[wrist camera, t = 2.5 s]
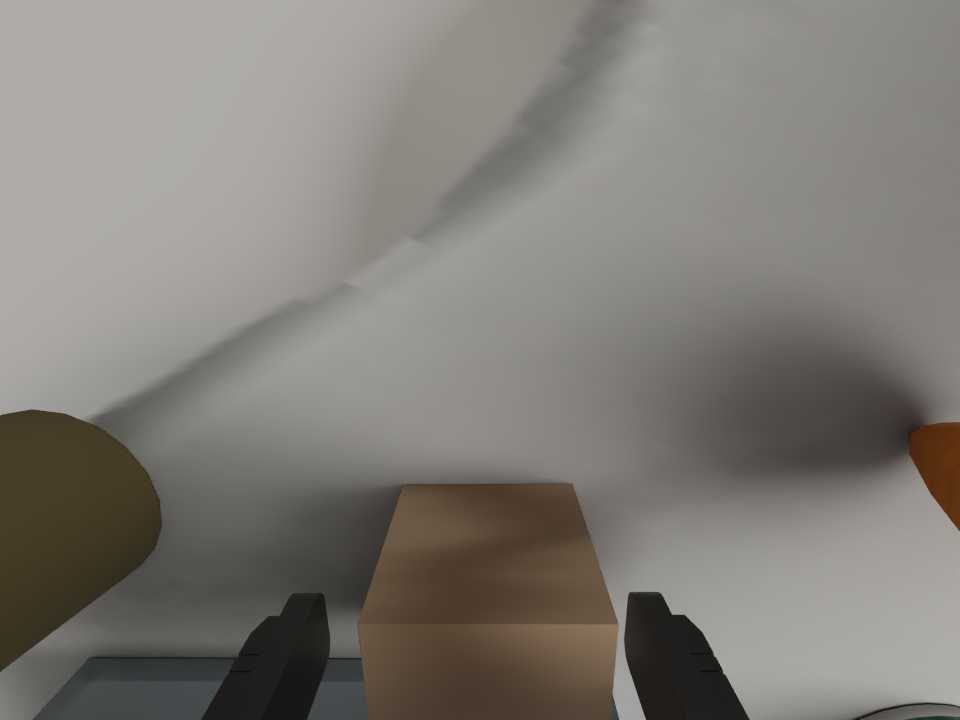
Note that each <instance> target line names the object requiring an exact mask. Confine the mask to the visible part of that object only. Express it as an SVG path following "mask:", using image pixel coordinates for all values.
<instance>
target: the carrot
mask: <svg viewBox="0 0 960 720" xmlns="http://www.w3.org/2000/svg"><path fill="white" fill-rule="evenodd" d="M909 454H910V456H911V458H912V460H913V462H914V464H915V465H916V467H917V469H918V471H919V473H920V475H921V477H922V478H923V480H924V482H925V484H926V486H927V488H928V490H929V491H930V493H931V495H932V496H933V497H934V499H935V500H936V501H937V502H938V504H939V505H940V506H941V508H942V509H943V510H944V512H945V513H946V514H947V515H948V517H949V518H950V519H951V521H952V522H953V523H954V525H955V526H956V527H957V528H958V530H959V531H960V422H954V423H938V424H932V425H925V426H923V427H921V428H919V429H917V430H915V431H914V432H913V433H912V434H911V440H910V451H909Z"/></svg>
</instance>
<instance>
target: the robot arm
mask: <svg viewBox="0 0 960 720" xmlns="http://www.w3.org/2000/svg"><path fill="white" fill-rule="evenodd" d="M624 644H625V653H626V659H627V663H628V667H629V670H630V673H631V676H632V679H633V682H634V685H635V688H636V691H637V694H638V697H639V700H640V703H641V706H642V709H643V712H644V715H645V718H646V720H750V719H749V718H748V716H747V714H746V712H745V710H744V708H743V707H742V705H741V703H740V701H739V699H738V697H737V696H736V694H735V692H734V690H733V688H732V686H731V684H730V683H729V681H728V679H727V677H726V675H724V674H723V670H722V668H721V666H720V664H719V662H718V660H717V659H716V657H714V654H713V651H712V649H711V648H710V646H709V644H708V642H707V640H706V638H705V636H704V635H703V633H702V632H701V631H700V630H699V629H698V628H697V627H696V626H695V625H694V624H693V623H692V622H691V621H690V620H689V619H688V618H687V617H686V616H685V615H672V614H671V612H670V610H669V608H668V606H667V604H666V602H665V600H664V598H663V596H662V594H661V593H659V592H630V593H629V596H628V604H627V615H626V625H625V636H624ZM329 651H330V634H329V627H328V620H327V612H326V605H325V598H324V595H323V594H322V593H294V594H292V595H291V596H290V598H289V599H288V601H287V603H286V605H285V607H284V609H283V611H282V612H281V614H280V616H268V617H267V618H266V619H265V620H264V621H263V622H262V623H261V624H260V625H259V626H258V627H257V628H256V629H255V630H254V631H253V632H252V633H251V634H250V635H249V637H248V639H247V641H246V642H245V644H244V646H243V648H242V649H241V651H240V653H239V657H238V658H236V660H235V661H234V663H233V665H232V667H231V668H230V670H229V674H228V676H226V677H225V679H224V681H223V682H222V684H221V686H220V688H219V689H218V691H217V693H216V695H215V696H214V698H213V700H212V701H211V703H210V705H209V707H208V708H207V710H206V712H205V714H204V715H203V717H202V719H201V720H307V719H308V716H309V713H310V710H311V707H312V705H313V702H314V699H315V696H316V694H317V691H318V688H319V685H320V682H321V680H322V677H323V674H324V671H325V668H326V665H327V662H328V657H329Z"/></svg>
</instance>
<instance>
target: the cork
mask: <svg viewBox="0 0 960 720" xmlns="http://www.w3.org/2000/svg"><path fill="white" fill-rule="evenodd" d="M160 529H161V515H160V503H159V498H158V496H157V494H156V492H155V489H154V487H153V485H152V482H151V480H150V478H149V476H148V473H147V472H146V471H145V470H144V468H143V467H142V466H141V465H140V464H139V462H138V461H137V460H136V459H135V458H134V456H133V455H132V454H131V453H130V452H129V450H128V449H127V448H126V447H125V446H123V445H122V444H121V443H119V442H118V441H116V440H115V439H114V438H112V437H111V436H109V435H108V434H107V433H105V432H104V431H103V430H101V429H100V428H98V427H96V426H94V425H92V424H89V423H87V422H84V421H82V420H79V419H77V418H74V417H72V416H69V415H66V414H62V413H55V412H47V411H39V410H27V411H21V412H15V413H9V414H4V415H1V416H0V671H2V670H3V669H4V668H6V667H7V666H8V665H10V664H11V663H12V662H14V661H15V660H16V659H17V658H19V657H20V656H21V655H23V654H24V653H25V652H27V651H28V650H29V649H31V648H32V647H33V646H35V645H36V644H37V643H39V642H40V641H41V640H43V639H44V638H45V637H47V636H48V635H49V634H51V633H52V632H53V631H55V630H56V629H57V628H59V627H60V626H61V625H62V624H64V623H65V622H66V621H68V620H69V619H70V618H72V617H73V616H74V615H76V614H77V613H78V612H80V611H81V610H82V609H84V608H85V607H86V606H88V605H89V604H90V603H92V602H93V601H94V600H96V599H97V598H98V597H100V596H101V595H102V594H103V593H105V592H106V591H107V590H109V589H110V588H111V587H113V586H114V585H115V584H117V583H118V582H119V581H121V580H122V579H123V578H125V577H126V576H127V575H129V574H130V573H131V572H133V571H134V570H135V569H137V568H138V567H139V566H140V565H141V564H142V562H143V561H144V560H145V559H146V558H147V557H148V556H149V555H150V553H151V552H152V551H153V550H154V548H155V545H156V542H157V539H158V536H159V532H160Z"/></svg>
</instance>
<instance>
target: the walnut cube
mask: <svg viewBox="0 0 960 720" xmlns="http://www.w3.org/2000/svg"><path fill="white" fill-rule="evenodd" d="M357 625H358V633H359V642H360V650H361V659H362V667H363V676H364V684H365V693H366V701H367V710H368V718H369V720H610V715H611V703H612V692H613V681H614V669H615V658H616V647H617V635H618V621H617V618H616V615H615V612H614V609H613V606H612V603H611V600H610V597H609V594H608V591H607V588H606V585H605V582H604V579H603V576H602V573H601V570H600V567H599V564H598V560H597V557H596V554H595V551H594V548H593V545H592V542H591V539H590V536H589V533H588V530H587V527H586V524H585V521H584V518H583V515H582V512H581V509H580V506H579V503H578V499H577V496H576V493H575V490H574V487H573V484H403V487H402V490H401V493H400V496H399V499H398V502H397V505H396V509H395V512H394V515H393V518H392V521H391V524H390V527H389V530H388V533H387V536H386V539H385V542H384V545H383V548H382V551H381V554H380V557H379V560H378V563H377V566H376V569H375V572H374V575H373V578H372V581H371V584H370V587H369V590H368V593H367V596H366V599H365V603H364V606H363V609H362V612H361V615H360V618H359V621H358V624H357Z"/></svg>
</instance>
